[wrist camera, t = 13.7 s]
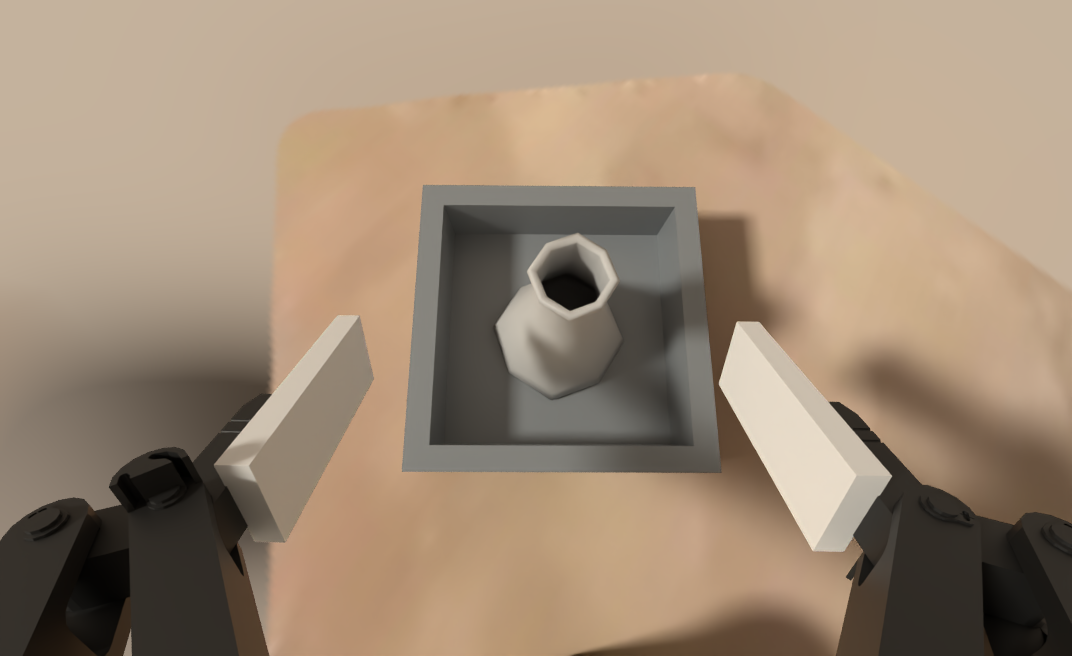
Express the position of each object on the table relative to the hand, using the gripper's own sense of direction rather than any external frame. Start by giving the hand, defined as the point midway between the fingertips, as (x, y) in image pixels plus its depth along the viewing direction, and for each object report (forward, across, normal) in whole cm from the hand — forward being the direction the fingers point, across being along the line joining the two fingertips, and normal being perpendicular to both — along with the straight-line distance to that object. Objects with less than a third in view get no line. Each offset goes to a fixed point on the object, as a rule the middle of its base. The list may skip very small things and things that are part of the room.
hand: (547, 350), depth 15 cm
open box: (+10, +1, -5) cm, 11 cm away
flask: (+9, +1, -5) cm, 10 cm away
